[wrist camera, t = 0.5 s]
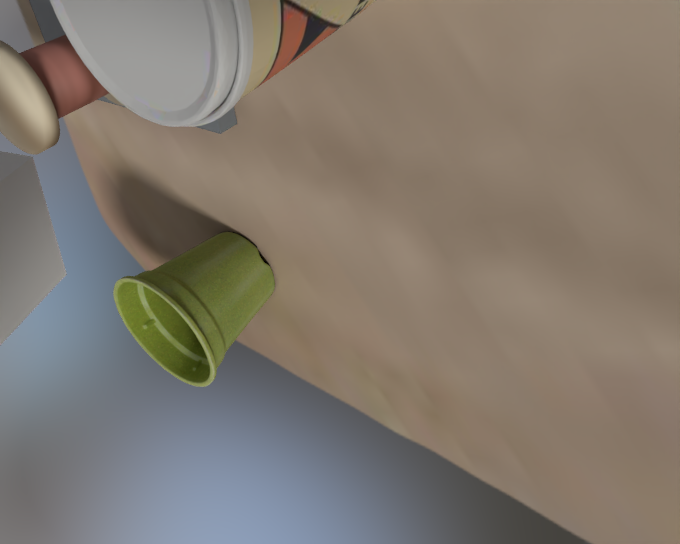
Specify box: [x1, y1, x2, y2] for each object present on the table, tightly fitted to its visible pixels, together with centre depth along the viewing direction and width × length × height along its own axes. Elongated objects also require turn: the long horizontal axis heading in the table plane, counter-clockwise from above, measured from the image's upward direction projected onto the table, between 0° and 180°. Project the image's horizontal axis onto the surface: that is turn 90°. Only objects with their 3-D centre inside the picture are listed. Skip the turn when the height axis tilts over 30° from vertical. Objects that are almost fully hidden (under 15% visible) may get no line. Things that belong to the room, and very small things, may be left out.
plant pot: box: [114, 232, 275, 387], centre depth 47 cm, size 9×9×9 cm
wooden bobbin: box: [0, 34, 124, 154], centre depth 39 cm, size 6×6×8 cm
